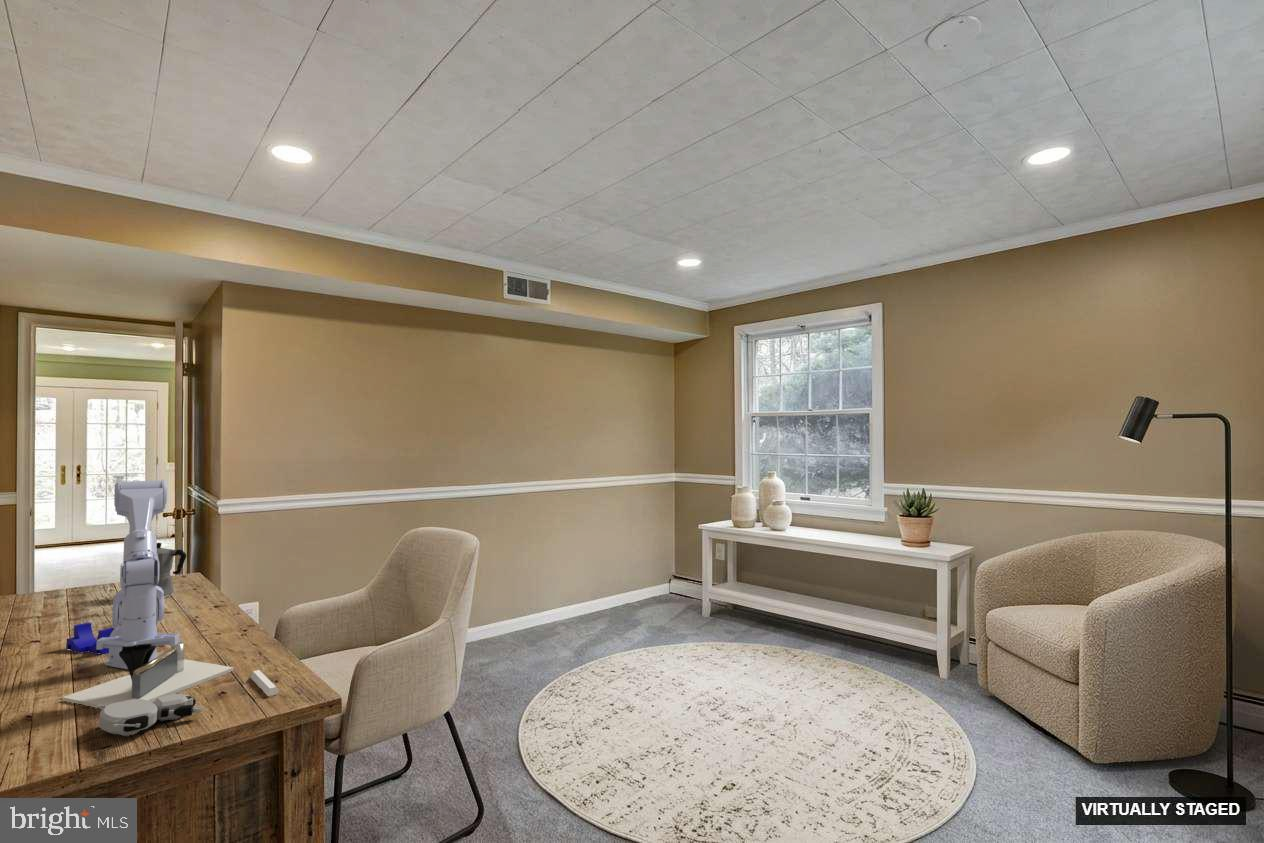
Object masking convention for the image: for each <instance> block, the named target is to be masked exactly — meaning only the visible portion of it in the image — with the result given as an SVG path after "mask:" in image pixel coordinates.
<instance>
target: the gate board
mask: <svg viewBox="0 0 1264 843" xmlns="http://www.w3.org/2000/svg"><path fill="white" fill-rule="evenodd" d="M234 670H235V667H233V666H228V665H221V664H216V663H208V662H204V661H198V660H191V659H187V658H184V670H183V671H182V672H178V673H175V674H173V675H172V676H170V677H169V678H167V679H166V680H164V681H163V682H161V683H160V684H159V685H157V686H156V687H154V688H153V689H151V690H150V691H148V692H147V693H145V694H144V695H143V696H141V697H136V698H132V679H131V676H130V674H128V675H124V676H121V677H118V678H115V679H112V680H109V681H106V682H103V683H100V684H97V685H94V686H92V687H88V688H86V689H82V690H79V691H76V692H74V693H73V692H72V693H70V694H68V695H64V696H62V697H61V701H62V700H65V701H69V702H74V703H79V704H83V705H87V706H91V707H90V708H92V707H96V706H108V705H110V704H112V703H117V702H122V701H127V700H132V699H144V700H148V701H150V702H152V703H153V702H154V701H155V700H156V699H157V698H160V697H163V696H167V695H172V694H175V693H180V692H182V691H185V690H188V689H191V688H194V687H195V686H198V685H200V684H203V683H206V682H208V681H211V680H214V679H217V678H220V677H221V675H222V676H224V675H227V674H229V672H230V673H232V672H234ZM231 671H232V672H231ZM69 702H68V703H69ZM74 703H73V704H74ZM83 705H82V706H83ZM87 706H86V707H87ZM95 709H97V707H96V708H95ZM101 709H103V708H100V709H99V710H101Z"/></svg>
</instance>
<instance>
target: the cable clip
mask: <svg viewBox="0 0 1264 843" xmlns="http://www.w3.org/2000/svg"><path fill="white" fill-rule="evenodd" d="M114 629H115V627H114V626H113V627H107V628H104V629H100V630H98V633H97V637H95V635H94V633H93V628H92V622H87V621H86V622H84V623H80V624H79V623H78V624H74V625H73V637H70V638H66V646H65V648H66V649H71V650H72V651H76V652H79V653H78V654H82V653H81V652H84V653H87V652H86V651H89V652H88V653H91V652H93V653H92V654H95V653H97V654H96V655H99V654H98V653H100V654H101V655H100V656H103V655H102V654H104V655H106V653H107V654H109V648H104V649H100V650H96V645H97V640H99V639H101V638H104V637H110V635H111V633H112V631H113V630H114ZM96 638H97V639H96ZM72 651H71V652H72ZM76 652H75V653H76Z"/></svg>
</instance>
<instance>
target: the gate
mask: <svg viewBox="0 0 1264 843" xmlns="http://www.w3.org/2000/svg"><path fill="white" fill-rule="evenodd" d="M157 656H158V657H156V658H154V659H153V660H151V661H149V662H148V663H146V664H145V665H143V666H141V667H140V668H138V669H136V670H135V671H134V672H133V675H132V698H136V697H141V696H143V695H144V694H145V693H147V692H148V691H150V690H151V689H153V688H154V687H156V686H157V685H159V684H160V683H161V682H163V681H164V680H166V679H167V678H169V677H170V676H172V675H173V674H175V673H176V672H177V648H176V647H172V648H171V647H170V648H169V649H167V650H166V651H164V652H163V653H161V654H159V655H157Z"/></svg>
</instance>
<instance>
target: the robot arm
mask: <svg viewBox="0 0 1264 843" xmlns="http://www.w3.org/2000/svg"><path fill="white" fill-rule="evenodd" d="M167 482H168V481H166V480H165V479H161V480H142V481H141V480H136V481H135V480H133V481H129V480H128V481H120V480H117V482H116V483H114V496H113V498H114V501H113V502H114V510H115V511H114V512H116V515H118V516H122V517H125V518H126V520H127V521H128V524H129V531H128V533H127V535H126V536H125V537H124V539H123V558H122V559H123V561H122V563H121V564H120V570H119V571H120V573H119V586H120V589H119V590H118V591H117V592H115V594H114V596H113V602H112V614H111V615H112V616H111V621H112V622H111V625H112V626H113V628H115V629H114V630H113V631H112V633H111V635H110V637H104V638H101V639H99V640H97V639H96V640H97V645H96V650H100V649H104V648H109V653H108V661H106V662H105V663H104V666H107V667H112V668H119V669H123V670H128V673H129V675H130V676H131V679H132V675H133V672H134V671H135V670H136V669H138V668H140V667H141V666H143V665H145V664H146V663H148V662H149V661H151V660H153V659H154V658H156V657H158V656H159V655H157V654H158V653H157V652H158V651H157V650H158V648H157V647H158V646H170V647H171V646H174V645H176V644H178V643H179V642H180V633H164V632H162V633H161V632H158V625H159V622H162V621H163V619H164V617H165V598H164V592H163V590H162V588H161V587H159V586H157V585H156V584H155V583H154V577H156V579H157V584H158V582H159V560H158V554H157V543H158V541H157V540H158V539H157V537H158V536H157V535H156V533H154V532H152V522H153V520H154V518H155V516H156V515H158V514H161V513H164V510H165V509H166V506H167V505H166V504H167V501H168V500H167V499H168V498H167V496H168V495H167V494H168V486H167V485H168V483H167Z"/></svg>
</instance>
